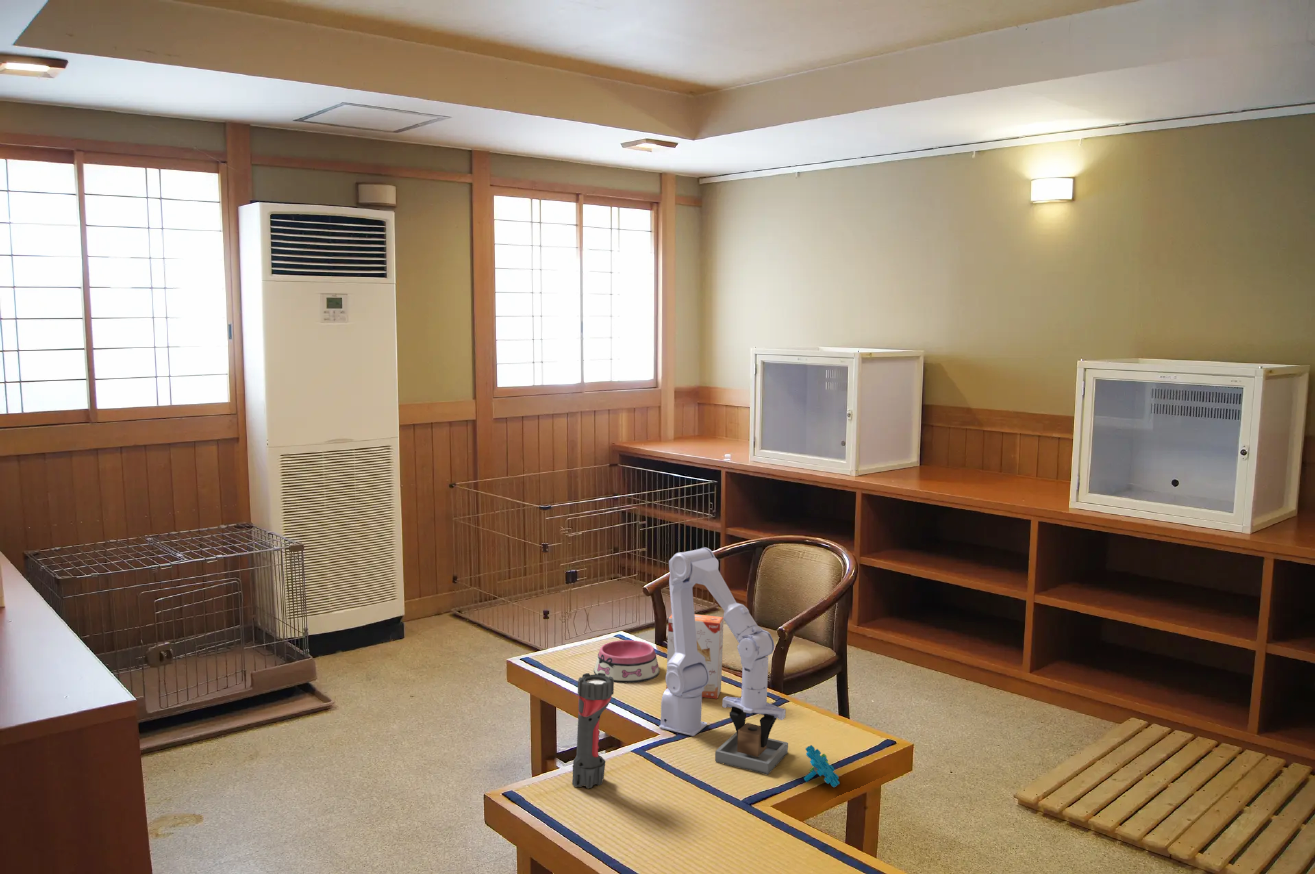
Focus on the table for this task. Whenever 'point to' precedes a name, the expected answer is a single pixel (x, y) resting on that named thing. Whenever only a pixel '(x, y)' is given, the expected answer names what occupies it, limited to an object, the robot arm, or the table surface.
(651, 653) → the dog bowl
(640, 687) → the table surface
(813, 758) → the gear
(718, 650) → the cracker box
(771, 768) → the tray
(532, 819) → the table surface
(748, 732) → the walnut block
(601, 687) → the flashlight
